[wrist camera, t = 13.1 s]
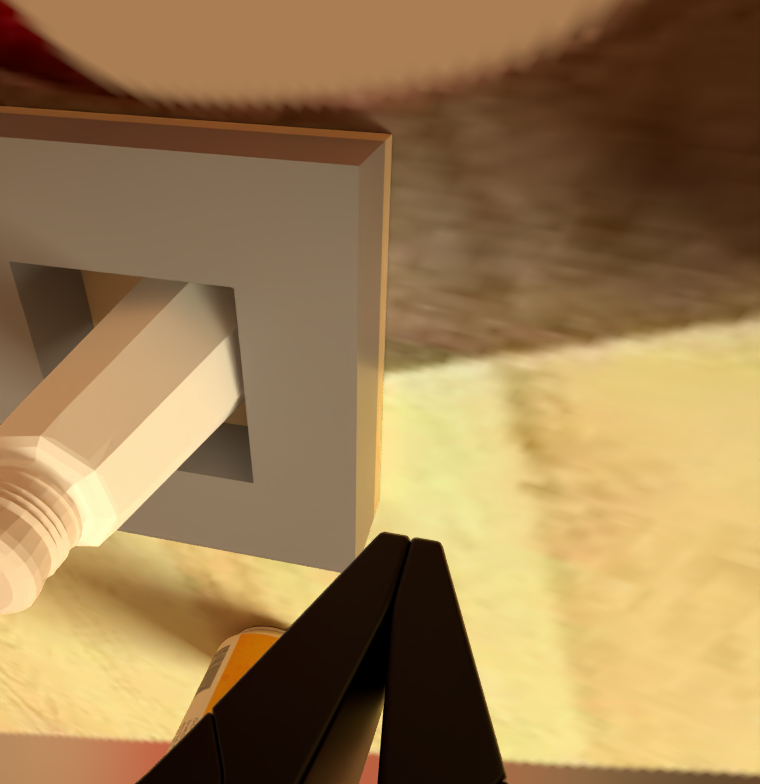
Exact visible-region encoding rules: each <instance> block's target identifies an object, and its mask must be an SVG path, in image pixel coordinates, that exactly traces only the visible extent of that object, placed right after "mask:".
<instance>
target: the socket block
mask: <svg viewBox="0 0 760 784" xmlns="http://www.w3.org/2000/svg"><path fill="white" fill-rule="evenodd" d="M391 158H392V134H384V133H370V132H356V131H342V130H329V129H315V128H301V127H287V126H273V125H259V124H246V123H232V122H218V121H204V120H190V119H176V118H162V117H149V116H135V115H121V114H107V113H93V112H79V111H65V110H52V109H38V108H24V107H10V106H0V425H1V424H2V423H3V422H4V421H5V419H6V418H7V417H8V416H9V415H10V414H11V413H12V412H13V411H14V410H15V409H16V408H17V407H18V406H19V405H20V403H21V402H22V401H23V400H24V399H25V398H26V397H27V396H28V395H29V394H30V393H31V392H32V391H33V390H34V389H35V388H36V387H37V386H38V385H39V384H40V383H41V382H42V381H43V380H44V379H45V378H46V377H47V376H48V375H49V374H50V373H51V372H52V371H53V370H54V369H55V368H56V367H57V366H58V365H59V364H60V363H61V362H62V361H63V360H64V359H65V358H66V356H67V355H68V354H69V353H70V352H71V351H72V350H73V349H74V348H75V347H76V346H77V345H78V344H79V343H80V342H81V341H82V340H83V339H84V338H85V337H86V336H87V335H88V334H89V333H90V332H91V331H92V330H93V329H94V328H95V327H96V326H97V325H98V324H99V323H100V322H101V321H102V320H103V319H104V318H105V317H106V316H107V315H108V314H109V313H110V312H111V311H112V309H113V308H114V307H115V306H116V305H117V304H118V303H119V302H120V301H121V300H122V299H123V298H124V297H125V296H126V295H127V294H128V293H129V292H130V291H131V290H132V289H133V288H134V287H135V286H136V285H137V284H138V283H139V282H140V281H141V280H142V279H143V278H144V277H147V278H156V279H164V280H173V281H181V282H190V283H199V284H207V285H216V286H224V287H231V288H232V289H233V290H234V294H235V304H236V314H237V324H238V333H239V343H240V353H241V363H242V373H243V383H244V393H245V401H244V402H243V403H242V404H241V405H240V406H239V407H238V408H237V409H236V410H235V411H234V412H233V413H232V414H231V415H230V416H229V417H228V418H227V419H226V420H225V421H224V422H223V423H222V424H221V425H220V426H219V427H218V428H217V429H216V430H215V431H214V432H213V433H212V434H211V435H210V436H209V437H208V438H207V439H206V440H205V441H204V442H203V443H202V444H201V445H200V446H199V447H198V448H197V449H196V450H195V451H194V452H193V453H192V454H191V455H190V456H189V457H188V458H187V459H186V460H185V461H184V462H183V463H182V464H181V465H180V467H179V468H178V469H177V470H176V471H175V472H174V473H173V474H172V475H171V476H170V477H169V478H168V479H167V480H166V481H165V482H164V483H163V484H162V485H161V486H160V487H159V488H158V489H157V490H156V491H155V492H154V493H153V494H152V495H151V496H150V497H149V498H148V499H147V500H146V501H145V502H144V503H143V504H142V505H141V506H140V507H139V508H138V509H137V510H136V511H135V512H134V513H133V514H132V515H131V516H130V517H129V518H128V519H127V520H126V521H125V522H124V523H123V524H122V525H121V526H120V527H119V528H118V529H117V530H118V531H123V532H128V533H134V534H139V535H144V536H150V537H155V538H160V539H166V540H171V541H176V542H181V543H187V544H192V545H197V546H203V547H208V548H213V549H218V550H224V551H229V552H234V553H240V554H245V555H250V556H255V557H261V558H266V559H271V560H277V561H282V562H287V563H293V564H298V565H303V566H308V567H314V568H319V569H324V570H330V571H335V572H340V573H342V572H343V571H344V570H345V569H346V568H347V567H348V566H349V565H350V564H351V563H352V562H353V561H354V560H355V559H356V558H357V556H358V555H359V554H360V553H361V552H362V551H363V549H364V546H365V543H366V540H367V537H368V534H369V531H370V528H371V525H372V521H373V518H374V515H375V512H376V509H377V506H378V503H379V493H380V465H381V438H382V410H383V382H384V354H385V326H386V298H387V270H388V242H389V214H390V186H391Z"/></svg>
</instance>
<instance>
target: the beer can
mask: <svg viewBox="0 0 760 784" xmlns="http://www.w3.org/2000/svg"><path fill="white" fill-rule="evenodd" d="M284 632H285V630H281V629H278V628H273V627H252V628H248V629H246V630H243V631H242V632H240V633H239V634H238V635H235V636H232V637H230V638H228V639H226V640H225V641H224V642H223V643H222V644H221V645H220V646H219V648H218V650H217V652H216V654H215V656H214V658H213V660H212V662H211V664H210V666H209V668H208V670H207V672H206V674H205V676H204V678H203V680H202V682H201V684H200V686H199V688H198V690H197V692H196V694H195V697H194V699H193V701H192V703H191V705H190V707H189V709H188V711H187V713H186V715H185V717H184V719H183V721H182V723H181V725H180V727H179V729H178V731H177V733H176V735H175V737H174V739H173V741H172V743H171V745H170V747H169V749H168V751H167V753H168V752H169V751H170V750H171V749H172V748H173V747H174V746H175V745H176V744H177V743H178V742H179V741H180V740H181V739H182V738H183V737H184V736H185V735H186V734H187V733H188V732H189V731H190V730H191V729H192V728H193V727H194V726H195V725H196V723H197V722H198V721H199V720H200V719H201V718H202V717H203V716H204V715H205V714H206V713H208V712H210V713H212V708H213V706H214V705H215V704H216V703H217V702H218V701H219V700H220V699H221V698H222V697H223V696H224V695H225V694H226V693H227V692H228V691H229V690H230V689H231V687H232V686H233V685H234V684H235V683H236V682H237V681H238V680H239V679H240V678H241V677H242V676H243V675H244V674H245V673H246V672H247V671H248V670H249V669H250V668H251V667H252V666H253V665H254V664H255V663H256V661H257V660H258V659H259V658H260V657H261V656H262V655H263V654H264V653H265V652H266V651H267V650H268V649H269V648H270V647H271V646H272V645H273V644H274V643H275V642H276V641H277V640H278V639H279V638H280V637H281V635H282V634H283V633H284ZM212 715H213V714H212ZM167 753H166V754H167Z"/></svg>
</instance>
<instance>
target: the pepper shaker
mask: <svg viewBox="0 0 760 784" xmlns="http://www.w3.org/2000/svg"><path fill="white" fill-rule="evenodd" d="M244 401H245V393H244V383H243V373H242V363H241V353H240V343H239V333H238V324H237V314H236V304H235V294H234V290H233V289H232V288H231V287H224V286H216V285H207V284H199V283H190V282H181V281H173V280H164V279H156V278H147V277H144V278H143V279H142V280H141V281H140V282H139V283H138V284H137V285H136V286H135V287H134V288H133V289H132V290H131V291H130V292H129V293H128V294H127V295H126V296H125V297H124V298H123V299H122V300H121V301H120V302H119V303H118V304H117V305H116V306H115V307H114V308H113V309H112V311H111V312H110V313H109V314H108V315H107V316H106V317H105V318H104V319H103V320H102V321H101V322H100V323H99V324H98V325H97V326H96V327H95V328H94V329H93V330H92V331H91V332H90V333H89V334H88V335H87V336H86V337H85V338H84V339H83V340H82V341H81V342H80V343H79V344H78V345H77V346H76V347H75V348H74V349H73V350H72V351H71V352H70V353H69V354H68V355H67V356H66V358H65V359H64V360H63V361H62V362H61V363H60V364H59V365H58V366H57V367H56V368H55V369H54V370H53V371H52V372H51V373H50V374H49V375H48V376H47V377H46V378H45V379H44V380H43V381H42V382H41V383H40V384H39V385H38V386H37V387H36V388H35V389H34V390H33V391H32V392H31V393H30V394H29V395H28V396H27V397H26V398H25V399H24V400H23V401H22V402H21V403H20V405H19V406H18V407H17V408H16V409H15V410H14V411H13V412H12V413H11V414H10V415H9V416H8V417H7V418H6V419H5V421H4V422H3V423H2V424H1V425H0V614H4V615H6V614H11V613H16V612H20V611H23V610H25V609H27V608H28V607H30V606H31V605H32V604H33V603H34V601H35V600H36V599H37V597H38V595H39V594H40V592H41V590H42V588H43V586H44V583H45V581H46V579H47V578H48V577H50V576H51V575H53V574H54V573H55V571H56V570H57V568H59V567H60V565H61V564H62V562H64V561H65V559H66V558H67V556H68V554H69V550H70V549H72V548H73V547H75V546H99V545H101V544H102V543H103V542H104V541H105V540H106V539H107V538H108V537H109V536H111V535H112V534H113V533H114V532H115V531H116V530H117V529H118V528H119V527H120V526H121V525H122V524H123V523H124V522H125V521H126V520H127V519H128V518H129V517H130V516H131V515H132V514H133V513H134V512H135V511H136V510H137V509H138V508H139V507H140V506H141V505H142V504H143V503H144V502H145V501H146V500H147V499H148V498H149V497H150V496H151V495H152V494H153V493H154V492H155V491H156V490H157V489H158V488H159V487H160V486H161V485H162V484H163V483H164V482H165V481H166V480H167V479H168V478H169V477H170V476H171V475H172V474H173V473H174V472H175V471H176V470H177V469H178V468H179V467H180V465H181V464H182V463H183V462H184V461H185V460H186V459H187V458H188V457H189V456H190V455H191V454H192V453H193V452H194V451H195V450H196V449H197V448H198V447H199V446H200V445H201V444H202V443H203V442H204V441H205V440H206V439H207V438H208V437H209V436H210V435H211V434H212V433H213V432H214V431H215V430H216V429H217V428H218V427H219V426H220V425H221V424H222V423H223V422H224V421H225V420H226V419H227V418H228V417H229V416H230V415H231V414H232V413H233V412H234V411H235V410H236V409H237V408H238V407H239V406H240V405H241V404H242V403H243V402H244Z"/></svg>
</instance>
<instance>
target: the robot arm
mask: <svg viewBox="0 0 760 784" xmlns="http://www.w3.org/2000/svg"><path fill="white" fill-rule="evenodd" d="M383 705H384V709H383ZM382 709H383V721H382V734H381V747H380V759H379V773H378V784H509V783H508V782H506V778H507V776H506V772H505V768H504V765H503V761H502V757H501V754H500V750H499V747H498V743H497V739H496V736H495V732H494V729H493V725H492V721H491V718H490V714H489V711H488V707H487V704H486V700H485V696H484V693H483V689H482V686H481V682H480V678H479V675H478V671H477V668H476V664H475V660H474V657H473V653H472V650H471V646H470V643H469V639H468V635H467V632H466V628H465V625H464V621H463V617H462V614H461V610H460V607H459V603H458V600H457V596H456V592H455V589H454V585H453V582H452V578H451V574H450V571H449V567H448V564H447V560H446V556H445V553H444V549H443V546H442V544H441V543H440V542H438V541H434V540H428V539H423V538H413V539H412V540H410V538H409V537H408V536H406V535H400V534H394V533H389V532H382V533H380V534H379V535H378V536H377V537H376V538H375V539H374V540H373V541H372V542H371V543H370V544H369V545H368V546H367V547H366V548H365V549H364V550H363V551H362V552H361V553H360V554H359V555H358V556H357V558H356V559H355V560H354V561H353V562H352V563H351V564H350V565H349V566H348V567H347V568H346V569H345V570H344V571H343V572H342V573H341V574H340V575H339V576H338V577H337V578H336V579H335V580H334V581H333V582H332V584H331V585H330V586H329V587H328V588H327V589H326V590H325V591H324V592H323V593H322V594H321V595H320V596H319V597H318V598H317V599H316V600H315V601H314V602H313V603H312V604H311V605H310V606H309V607H308V608H307V609H306V611H305V612H304V613H303V614H302V615H301V616H300V617H299V618H298V619H297V620H296V621H295V622H294V623H293V624H292V625H291V626H290V627H289V628H288V629H287V630H286V631H285V632H284V633H283V634H282V635H281V637H280V638H279V639H278V640H277V641H276V642H275V643H274V644H273V645H272V646H271V647H270V648H269V649H268V650H267V651H266V652H265V653H264V654H263V655H262V656H261V657H260V658H259V659H258V660H257V661H256V663H255V664H254V665H253V666H252V667H251V668H250V669H249V670H248V671H247V672H246V673H245V674H244V675H243V676H242V677H241V678H240V679H239V680H238V681H237V682H236V683H235V684H234V685H233V686H232V687H231V689H230V690H229V691H228V692H227V693H226V694H225V695H224V696H223V697H222V698H221V699H220V700H219V701H218V702H217V703H216V704H215V705H214V706H213V708H212V713H210V712H208V713H206V714H205V715H204V716H203V717H202V718H201V719H200V720H199V721H198V722H197V723H196V725H195V726H194V727H193V728H192V729H191V730H190V731H189V732H188V733H187V734H186V735H185V736H184V737H183V738H182V739H181V740H180V741H179V742H178V743H177V744H176V745H175V746H174V747H173V748H172V749H171V750H170V751H169V752H168V753H167V754H166V755H165V756H164V757H163V758H162V759H161V760H160V761H159V762H158V763H157V764H156V765H155V766H154V767H153V768H152V769H151V770H150V771H149V772H148V773H146V774H145V775H144V776H143V777H142V778H141V779H140V780H139V781H137V782H136V783H135V784H359V782H360V778H361V775H362V772H363V769H364V766H365V763H366V760H367V756H368V753H369V750H370V747H371V744H372V741H373V738H374V734H375V731H376V728H377V725H378V722H379V719H380V716H381V712H382ZM212 714H213V715H212Z"/></svg>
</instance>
